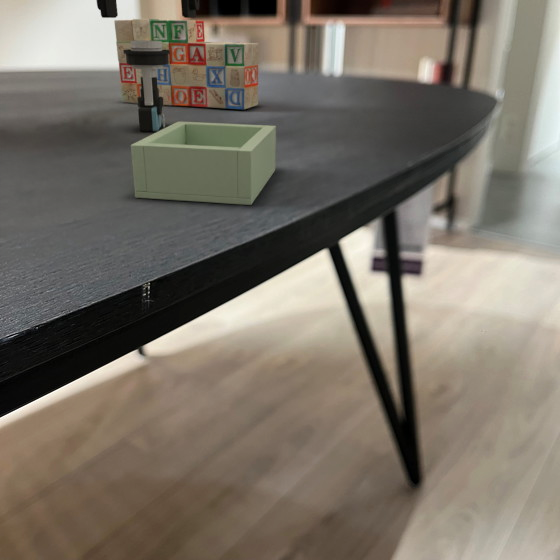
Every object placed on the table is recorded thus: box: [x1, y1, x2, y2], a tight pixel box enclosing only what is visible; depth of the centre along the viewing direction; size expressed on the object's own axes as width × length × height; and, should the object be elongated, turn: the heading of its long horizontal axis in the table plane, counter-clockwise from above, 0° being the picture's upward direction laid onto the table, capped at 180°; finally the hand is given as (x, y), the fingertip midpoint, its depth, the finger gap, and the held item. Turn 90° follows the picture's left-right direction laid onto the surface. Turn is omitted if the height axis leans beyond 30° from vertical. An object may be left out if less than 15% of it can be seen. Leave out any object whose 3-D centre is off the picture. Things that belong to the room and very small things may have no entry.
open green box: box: [130, 121, 277, 206], centre depth 47 cm, size 9×11×4 cm
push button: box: [123, 40, 170, 132], centre depth 69 cm, size 7×5×10 cm
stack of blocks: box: [113, 18, 259, 110], centre depth 89 cm, size 21×6×12 cm, turn 71°
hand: (149, 17), depth 66 cm, fingers open, 9 cm apart
